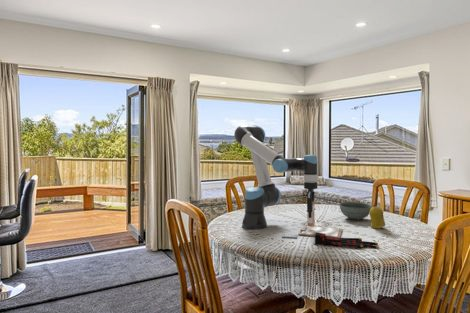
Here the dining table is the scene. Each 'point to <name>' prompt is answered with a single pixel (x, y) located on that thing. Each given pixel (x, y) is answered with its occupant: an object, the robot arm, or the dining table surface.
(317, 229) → the clipboard
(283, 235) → the grey striped tile
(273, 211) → the dining table surface
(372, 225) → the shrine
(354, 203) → the bowl
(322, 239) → the toy
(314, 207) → the pastel stick
